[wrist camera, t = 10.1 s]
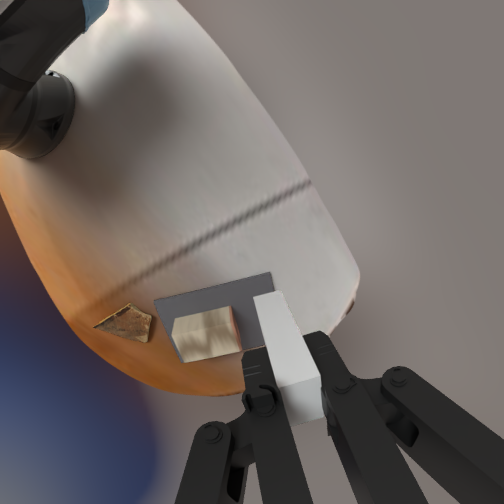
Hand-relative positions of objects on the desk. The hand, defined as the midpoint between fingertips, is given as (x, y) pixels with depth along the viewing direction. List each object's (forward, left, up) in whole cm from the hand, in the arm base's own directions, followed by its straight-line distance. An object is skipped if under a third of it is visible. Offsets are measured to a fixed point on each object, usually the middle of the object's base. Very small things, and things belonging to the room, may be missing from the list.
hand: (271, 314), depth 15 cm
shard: (+15, -24, -29) cm, 41 cm away
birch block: (+18, -4, -25) cm, 31 cm away
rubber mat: (+18, -7, -28) cm, 34 cm away
